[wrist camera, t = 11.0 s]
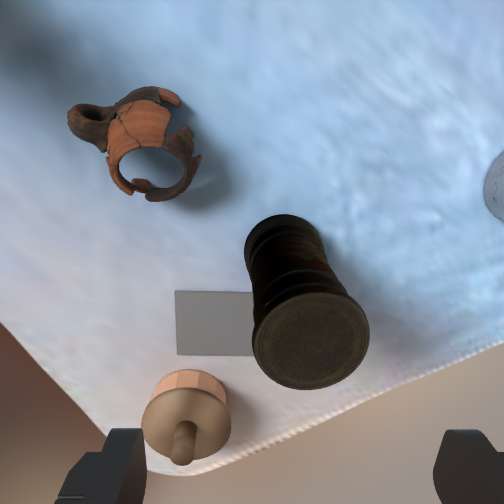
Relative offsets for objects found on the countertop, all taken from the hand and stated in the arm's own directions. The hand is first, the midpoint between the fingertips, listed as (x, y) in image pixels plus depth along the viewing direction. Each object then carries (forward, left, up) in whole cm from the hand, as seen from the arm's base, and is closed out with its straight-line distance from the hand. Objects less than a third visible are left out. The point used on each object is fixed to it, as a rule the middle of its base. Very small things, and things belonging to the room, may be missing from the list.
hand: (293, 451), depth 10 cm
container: (-4, +7, -32) cm, 33 cm away
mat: (+3, +17, -32) cm, 36 cm away
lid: (+7, +29, -28) cm, 41 cm away
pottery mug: (+11, -5, -32) cm, 34 cm away
